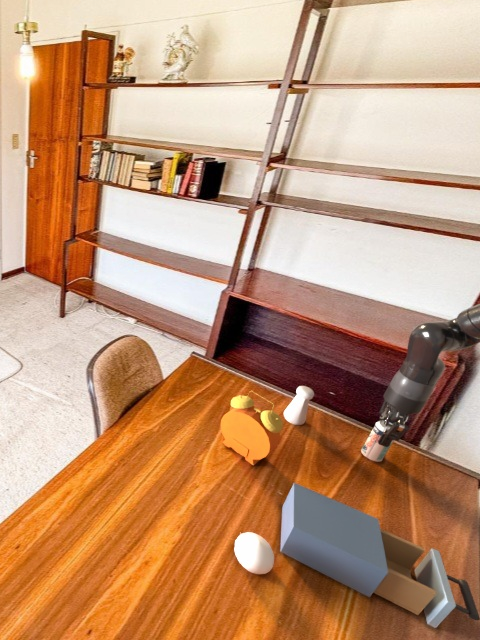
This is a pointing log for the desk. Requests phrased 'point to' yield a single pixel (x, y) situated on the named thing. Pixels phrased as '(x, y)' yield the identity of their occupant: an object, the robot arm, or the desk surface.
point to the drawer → (421, 582)
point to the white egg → (254, 553)
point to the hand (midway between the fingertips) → (381, 438)
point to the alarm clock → (251, 429)
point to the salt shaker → (299, 406)
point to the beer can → (375, 443)
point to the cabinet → (333, 539)
